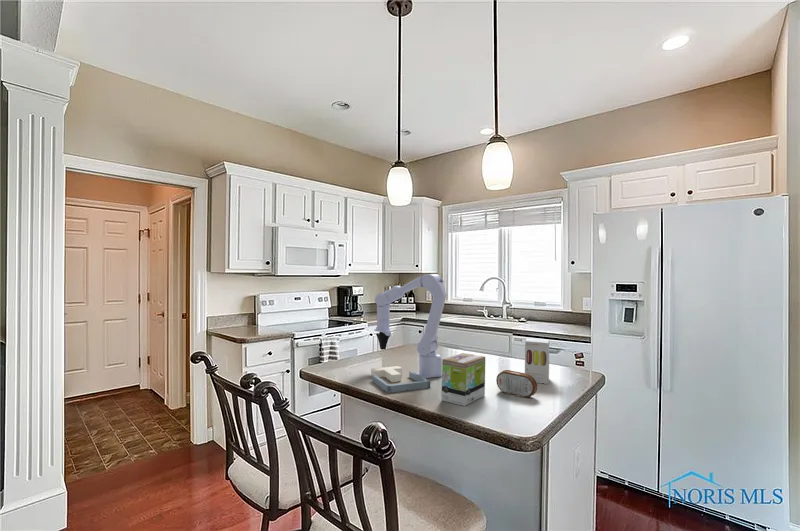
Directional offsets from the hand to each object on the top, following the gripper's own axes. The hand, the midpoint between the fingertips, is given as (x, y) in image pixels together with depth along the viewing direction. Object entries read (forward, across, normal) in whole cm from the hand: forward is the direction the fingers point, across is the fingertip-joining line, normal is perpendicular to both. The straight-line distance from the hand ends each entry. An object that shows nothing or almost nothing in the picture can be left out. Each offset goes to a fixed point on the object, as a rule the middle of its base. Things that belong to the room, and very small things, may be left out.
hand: (383, 349), depth 182 cm
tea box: (+10, +48, +13) cm, 51 cm away
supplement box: (+10, +40, +54) cm, 68 cm away
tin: (+10, +52, +33) cm, 62 cm away
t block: (+10, +13, -2) cm, 16 cm away
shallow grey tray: (+9, +24, -1) cm, 26 cm away
